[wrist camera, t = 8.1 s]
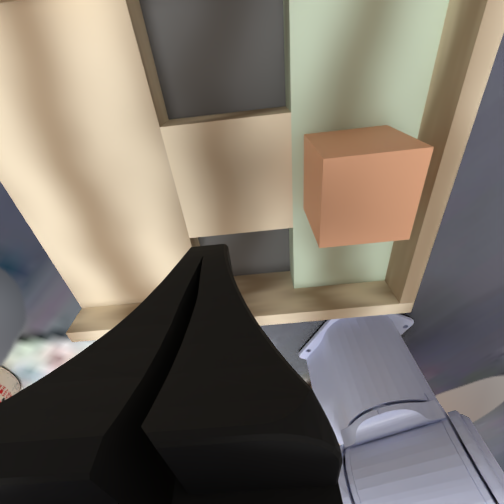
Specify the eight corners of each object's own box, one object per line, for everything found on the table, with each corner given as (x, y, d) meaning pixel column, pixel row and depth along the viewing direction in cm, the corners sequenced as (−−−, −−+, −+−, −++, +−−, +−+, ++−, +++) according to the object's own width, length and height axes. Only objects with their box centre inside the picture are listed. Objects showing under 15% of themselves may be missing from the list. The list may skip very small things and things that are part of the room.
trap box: (457, -75, 13) (559, -138, 9) (382, 268, 24) (410, 312, 20) (-70, -4, 14) (-206, -31, 9) (100, 295, 25) (72, 342, 21)
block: (387, 125, 15) (434, 147, 11) (374, 201, 18) (409, 239, 14) (303, 134, 15) (323, 159, 12) (303, 208, 18) (319, 248, 14)
